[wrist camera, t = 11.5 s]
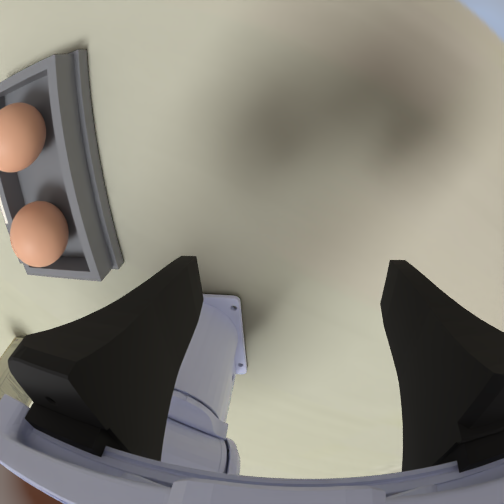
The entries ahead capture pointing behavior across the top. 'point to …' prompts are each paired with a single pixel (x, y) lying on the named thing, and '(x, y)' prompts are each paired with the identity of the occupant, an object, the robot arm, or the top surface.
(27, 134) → the terracotta ball
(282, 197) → the top surface
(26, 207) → the resting terracotta ball
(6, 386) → the skincare box
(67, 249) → the grey rimmed tray
